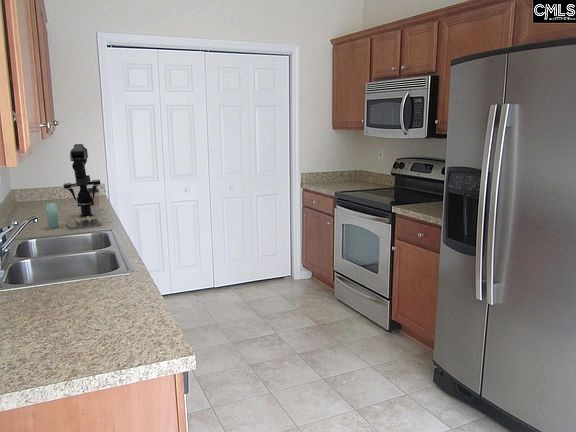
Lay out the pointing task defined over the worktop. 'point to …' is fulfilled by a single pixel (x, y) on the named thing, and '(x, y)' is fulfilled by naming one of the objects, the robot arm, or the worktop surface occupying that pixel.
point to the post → (52, 215)
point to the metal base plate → (83, 223)
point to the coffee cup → (95, 199)
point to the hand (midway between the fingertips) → (84, 199)
